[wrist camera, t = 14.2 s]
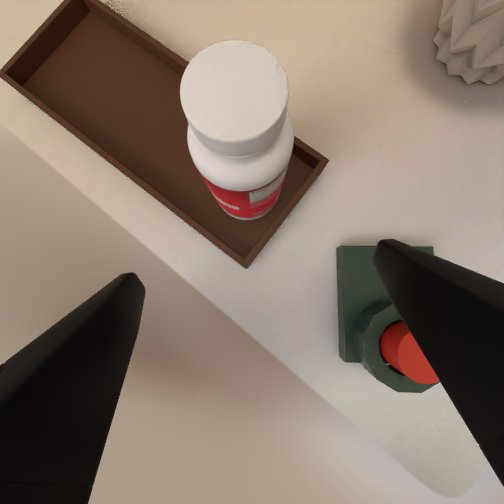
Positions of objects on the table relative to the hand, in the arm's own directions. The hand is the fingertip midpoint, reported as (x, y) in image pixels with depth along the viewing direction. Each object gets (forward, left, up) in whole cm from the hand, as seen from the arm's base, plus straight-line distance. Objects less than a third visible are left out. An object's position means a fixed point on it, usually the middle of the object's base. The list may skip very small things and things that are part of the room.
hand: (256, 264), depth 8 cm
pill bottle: (+7, +1, -11) cm, 14 cm away
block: (-3, -11, -12) cm, 17 cm away
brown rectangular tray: (+14, +10, -12) cm, 21 cm away
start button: (-6, -11, -9) cm, 16 cm away
